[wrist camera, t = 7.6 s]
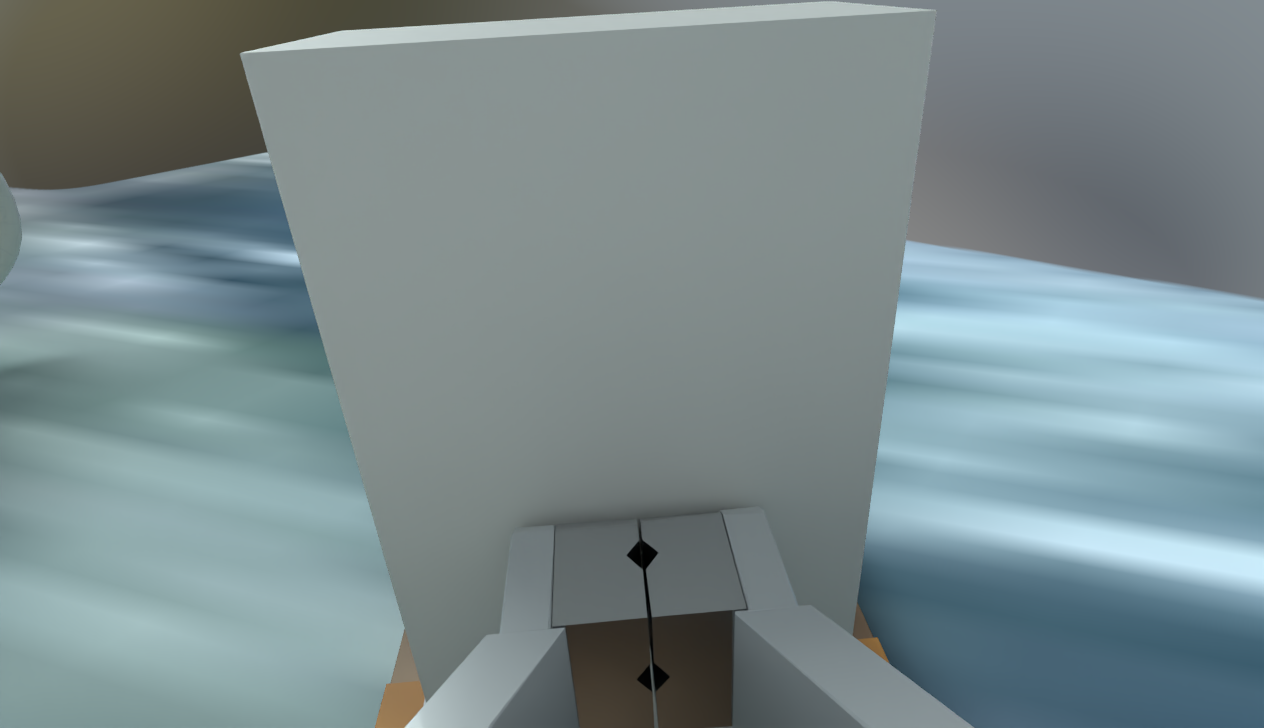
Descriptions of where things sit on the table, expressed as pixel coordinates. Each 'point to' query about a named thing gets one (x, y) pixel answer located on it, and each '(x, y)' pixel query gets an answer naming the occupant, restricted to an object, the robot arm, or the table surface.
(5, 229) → the pitcher
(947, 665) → the table surface
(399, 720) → the fader track
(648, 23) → the fader tab
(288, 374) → the table surface
